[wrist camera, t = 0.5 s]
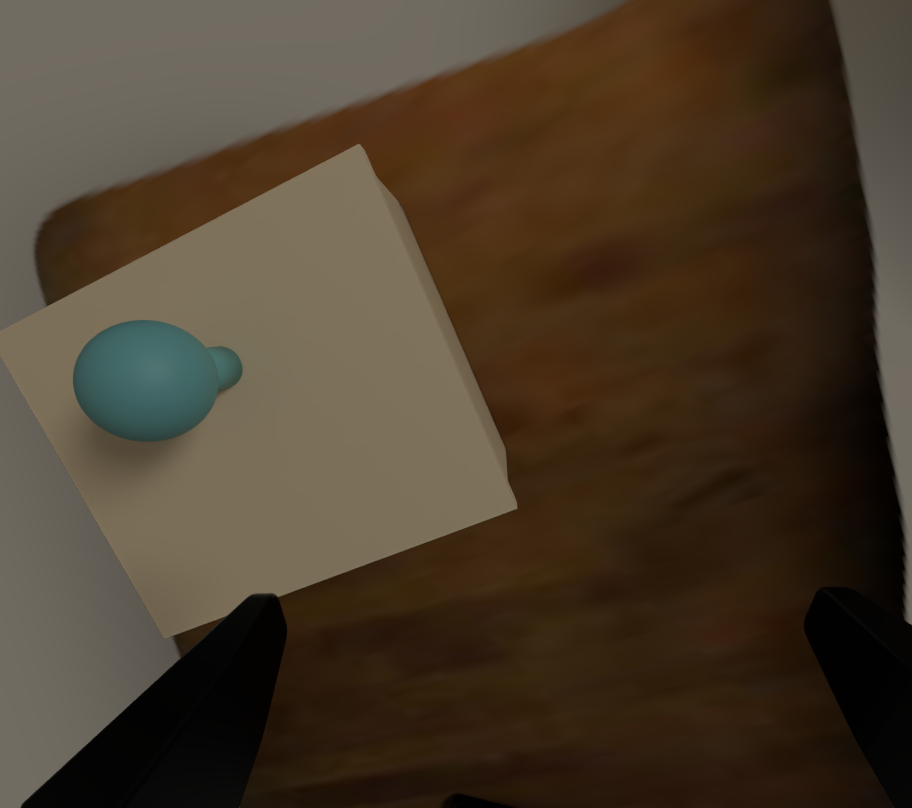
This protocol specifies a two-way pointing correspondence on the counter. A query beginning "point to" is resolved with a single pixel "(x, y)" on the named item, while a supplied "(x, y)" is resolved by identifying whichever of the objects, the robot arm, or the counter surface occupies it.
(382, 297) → the carton lid
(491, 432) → the carton
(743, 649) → the counter surface
